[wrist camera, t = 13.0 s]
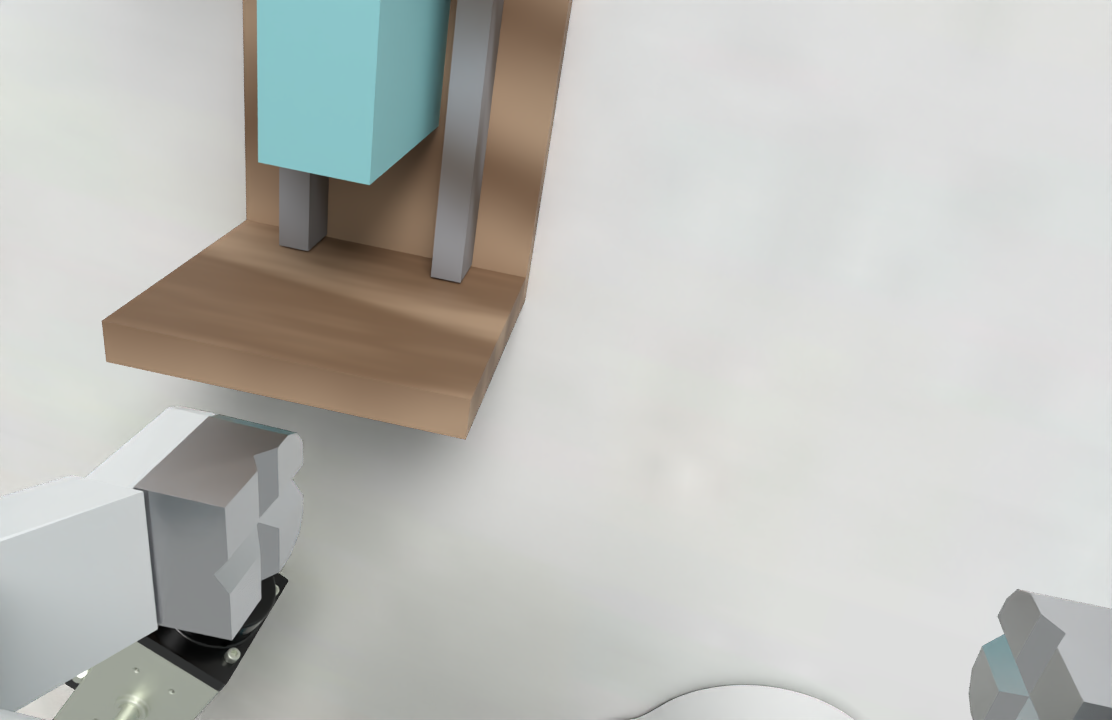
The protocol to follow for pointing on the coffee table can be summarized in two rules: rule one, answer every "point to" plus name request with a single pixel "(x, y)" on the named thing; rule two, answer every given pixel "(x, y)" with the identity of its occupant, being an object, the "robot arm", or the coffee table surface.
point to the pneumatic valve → (165, 671)
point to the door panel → (348, 82)
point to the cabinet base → (376, 249)
